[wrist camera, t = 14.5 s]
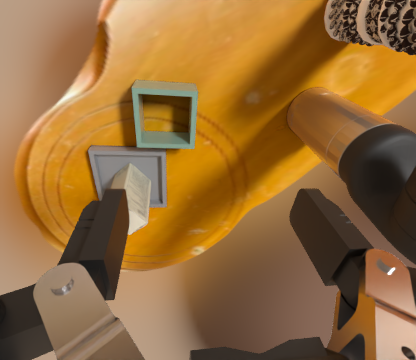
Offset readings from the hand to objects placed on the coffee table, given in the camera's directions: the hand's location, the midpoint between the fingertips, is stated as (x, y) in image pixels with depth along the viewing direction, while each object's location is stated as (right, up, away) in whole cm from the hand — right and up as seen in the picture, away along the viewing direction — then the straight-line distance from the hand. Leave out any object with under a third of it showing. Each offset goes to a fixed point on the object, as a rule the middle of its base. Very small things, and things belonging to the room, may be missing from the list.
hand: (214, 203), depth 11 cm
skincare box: (-15, +2, +37) cm, 40 cm away
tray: (-16, +2, +37) cm, 40 cm away
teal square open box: (-8, +13, +30) cm, 34 cm away
